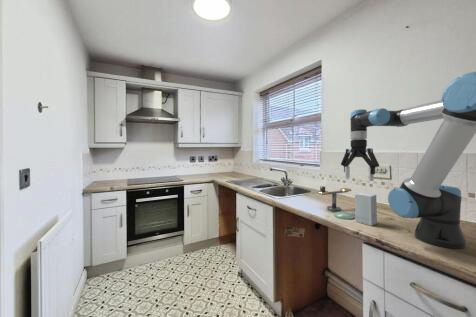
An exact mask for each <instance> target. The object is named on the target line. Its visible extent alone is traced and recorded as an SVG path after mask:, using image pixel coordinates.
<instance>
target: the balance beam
mask: <svg viewBox="0 0 476 317" xmlns="http://www.w3.org/2000/svg"><path fill="white" fill-rule="evenodd" d="M348 192H352V188H347V187H346V188H345V187H342V188H339V190H333V191H328V190H326V186H319V190H317V192H316V193H317V194H319V195H321V196H325V195H326V196H327V195H332V194H336V195H337V194H343V193H348Z"/></svg>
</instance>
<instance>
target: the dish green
mask: <svg viewBox="0 0 476 317" xmlns="http://www.w3.org/2000/svg"><path fill="white" fill-rule="evenodd" d="M333 217H335V218H337V219H341V220H347V221H348V220H354V219H355V216H354V215H353V214H352V213H350V212H346V211H334V213H333Z"/></svg>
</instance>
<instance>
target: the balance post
mask: <svg viewBox="0 0 476 317" xmlns="http://www.w3.org/2000/svg"><path fill="white" fill-rule="evenodd" d="M331 197H332V198H331V205H327V206H326V207H327V208H326V209H327V210H328V211H332V212H342V207H339V206H338V205H337V193H336V194H331Z"/></svg>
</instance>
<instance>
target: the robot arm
mask: <svg viewBox="0 0 476 317" xmlns="http://www.w3.org/2000/svg"><path fill="white" fill-rule="evenodd" d="M440 98H441V99H440V100H436V101H432V102H427V103H424V104H419V105H415V106H411V107H407V108H403V109H399V110H387V109H386V108H375V109H372V110H370V111H368V110H367V109H365V108H364V109H363V108H362V109H354V110H352V111H351V113H350V118H349V119H350V148H351V149H350V148H346V149H345V153H344V156H343V158H342V160H341V162H340V166H343V172H344V179H350V178H351V175H350V172H351V171H350V164H352V162H353V160H354V159H355V158H362V159H363V160H364V161H365V163H366V164H367V165H368V166H369V167H368V182H374V180H375V179H374V175H375V174H376V168H378V167H380V164H379V161H378V159H377V158H376V155H375V153H374V149H373V148H372V147H371V148H370V147H368V148H367V146H368V140H367V138H368V128H369V127H397V128H399V127H402V128H403V127H407V126H408V125H411V124H416V123H417V124H418V123H424V122H431V121H436V120H443V121H442V122H441V124H440V125H439V127H438V129H437V131H436V133H435V134H434V137H433V138H432V139H431V141H430V143H429V145H428V147H427V148H426V150H425V152H424V154H423V156H422V157H421V159H420V161H419V163H418V164H417V166H416V167H415V169H414V172H413V173H412V175H411V177H407V178H405V179H404V180H402V182H401V184H400V187H395V188H393V189H391V190H389V192H388V194H387V202H388V204H389V207H390V209H391V210H392V212H393V213H394V214H395V215H397V216H398V217H400V218H403V219H412V220H413V219H419V218H420V219H419V221H418V223H417V225H416V227H415V230H414V238H416V239H418V240H419V241H421V242H424V243H427V244H430V245H433V246H437V247H442V248H448V249H455V250H456V249H465V248H466V238H465V235H464V233H463V230H462V227H461V210H462V209H461V207H462V206H461V205H462V204H461V203H462V198H463V197H462V191H461V189H460V188H459V187H456V186H450V185H443V183H444V181H445V180H446V179H447V177H448V175H449V174H450V172H451V171H452V169H453V168H454V166H455V165H456V163H457V162H458V160H459V159H460V157H461V156H462V154H463V153H464V151H465V150H466V148H467V146H468V145H469V144H470V142H471V141H472V140H473V138H474V136H475V135H476V71H471V72H467V73H465V74H464V73H463V74H462V75H460V76H458V77H456V78H455V79H453V80H452V81H451V82H449V83H448V84H447V86H445V88H444V89H443V92H442V95H441V97H440Z"/></svg>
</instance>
